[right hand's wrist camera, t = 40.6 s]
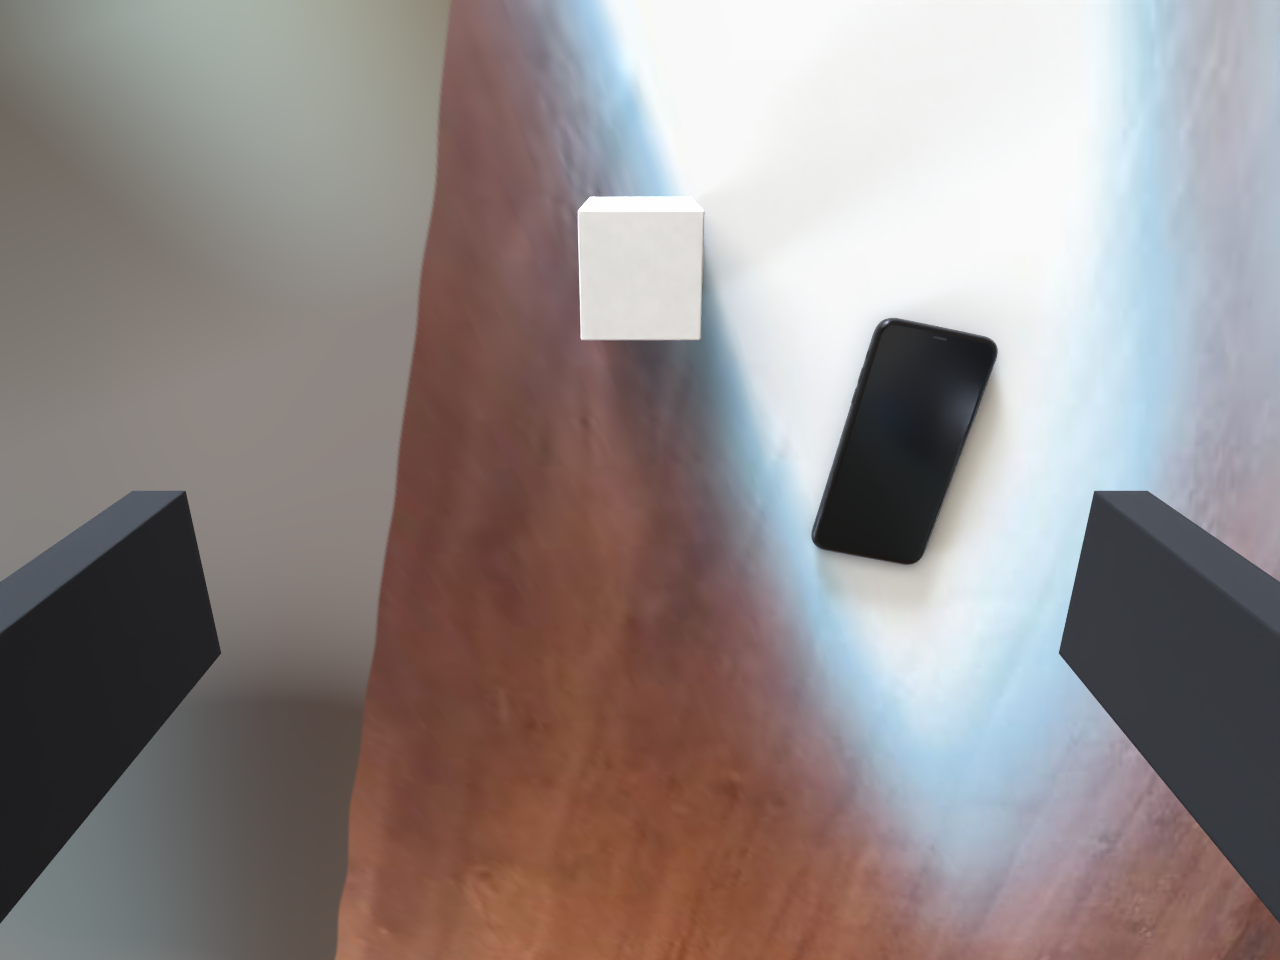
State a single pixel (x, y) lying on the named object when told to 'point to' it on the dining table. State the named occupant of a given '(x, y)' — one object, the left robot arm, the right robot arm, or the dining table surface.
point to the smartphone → (902, 440)
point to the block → (640, 268)
